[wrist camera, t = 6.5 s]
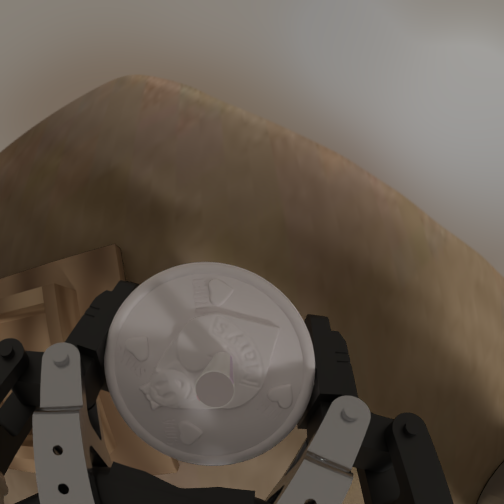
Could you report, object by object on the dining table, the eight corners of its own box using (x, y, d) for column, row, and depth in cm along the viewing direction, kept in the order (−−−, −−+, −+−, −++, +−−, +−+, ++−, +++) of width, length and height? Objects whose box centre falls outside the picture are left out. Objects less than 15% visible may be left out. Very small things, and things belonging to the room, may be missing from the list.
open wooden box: (120, 248, 20) (97, 228, 16) (179, 465, 16) (169, 493, 12) (-34, 295, 17) (-63, 287, 13) (5, 462, 13) (-21, 474, 9)
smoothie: (291, 368, 17) (443, 438, 4) (200, 418, 16) (141, 580, 2) (238, 279, 18) (260, 131, 5) (148, 328, 17) (-28, 300, 4)
